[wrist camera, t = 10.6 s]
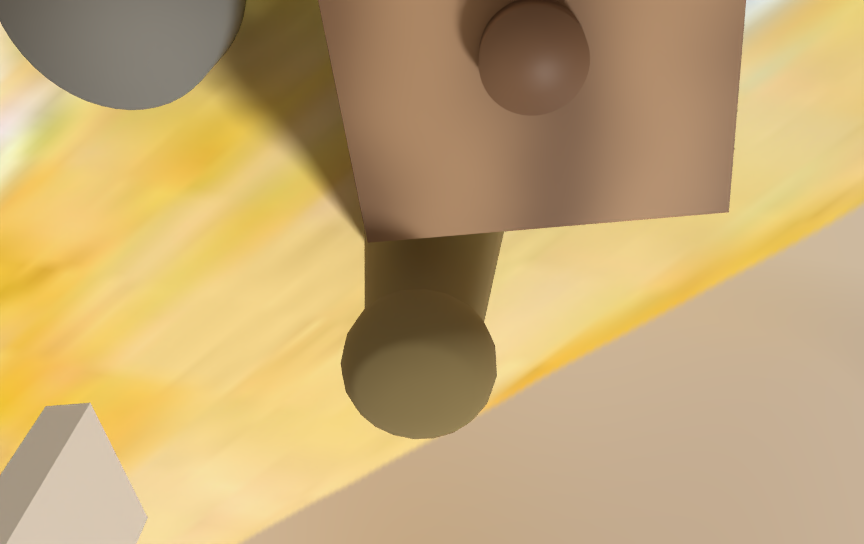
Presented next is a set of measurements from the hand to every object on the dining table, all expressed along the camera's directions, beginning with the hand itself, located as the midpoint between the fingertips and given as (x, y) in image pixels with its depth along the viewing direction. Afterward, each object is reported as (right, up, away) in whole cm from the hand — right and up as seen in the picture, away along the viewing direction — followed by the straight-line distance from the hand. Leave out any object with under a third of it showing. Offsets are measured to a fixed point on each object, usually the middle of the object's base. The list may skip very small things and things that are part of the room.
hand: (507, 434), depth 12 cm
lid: (+2, +10, +12) cm, 16 cm away
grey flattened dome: (-12, +13, +17) cm, 25 cm away
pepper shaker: (-1, +5, +22) cm, 23 cm away
